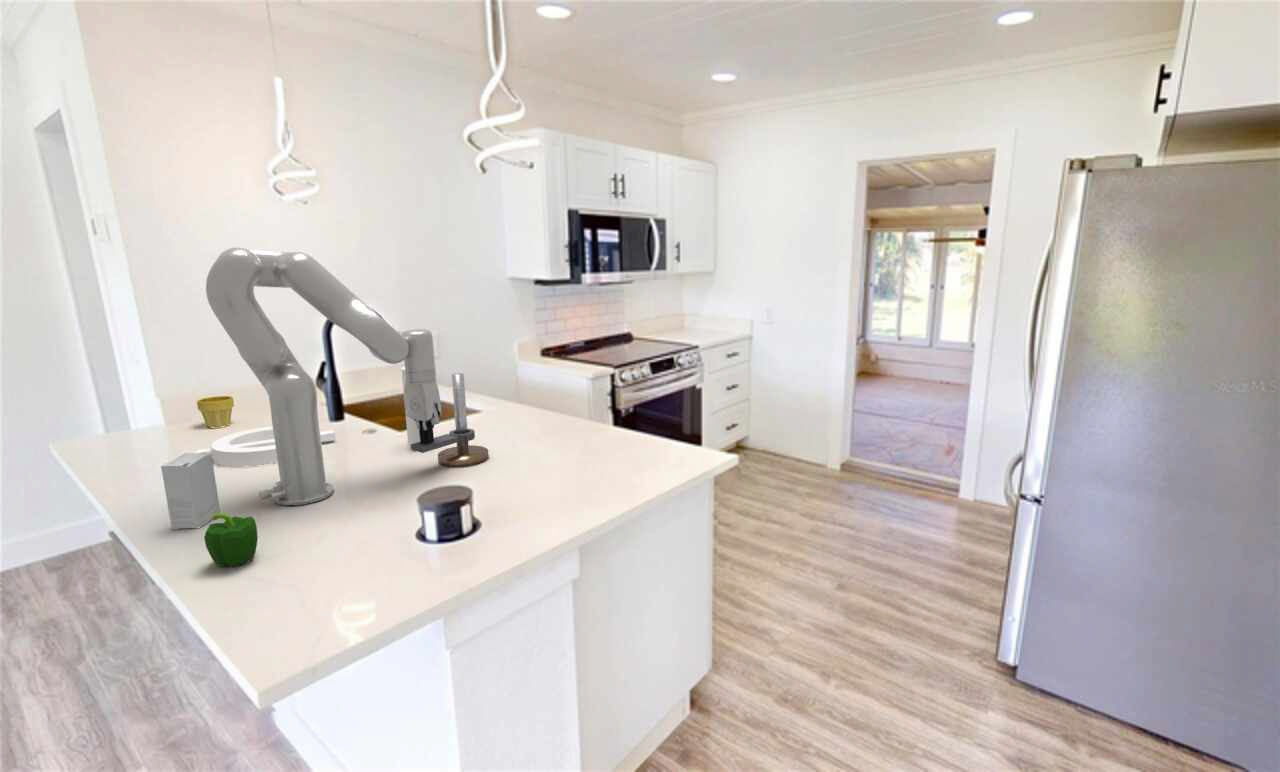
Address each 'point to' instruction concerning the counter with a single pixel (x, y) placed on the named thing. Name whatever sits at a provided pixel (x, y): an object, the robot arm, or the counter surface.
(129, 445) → the counter surface
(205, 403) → the plant pot
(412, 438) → the cylindrical container
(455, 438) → the collar
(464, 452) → the pipe stand
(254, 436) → the white circle with bar
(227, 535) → the bell pepper
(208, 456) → the skincare box
